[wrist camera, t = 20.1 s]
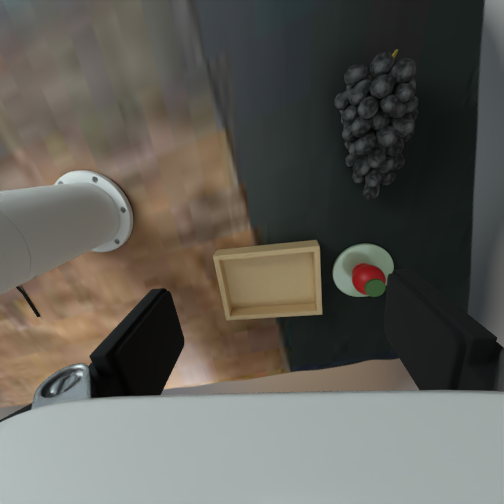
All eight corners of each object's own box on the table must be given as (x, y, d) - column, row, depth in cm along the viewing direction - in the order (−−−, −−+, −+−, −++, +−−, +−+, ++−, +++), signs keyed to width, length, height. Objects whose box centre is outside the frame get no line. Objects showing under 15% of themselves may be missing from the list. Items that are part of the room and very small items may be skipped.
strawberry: (347, 285, 38) (358, 303, 33) (347, 260, 36) (358, 275, 32) (376, 283, 37) (391, 301, 33) (377, 257, 36) (394, 272, 31)
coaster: (332, 296, 40) (333, 298, 39) (331, 246, 36) (332, 247, 36) (389, 293, 38) (391, 294, 38) (394, 240, 35) (396, 241, 35)
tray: (229, 310, 42) (226, 320, 40) (216, 249, 38) (212, 256, 36) (319, 304, 40) (322, 314, 38) (316, 239, 36) (319, 245, 34)
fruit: (415, 208, 25) (439, 22, 19) (331, 211, 28) (330, 54, 22) (404, 192, 32) (418, 54, 26) (338, 196, 35) (338, 75, 30)
